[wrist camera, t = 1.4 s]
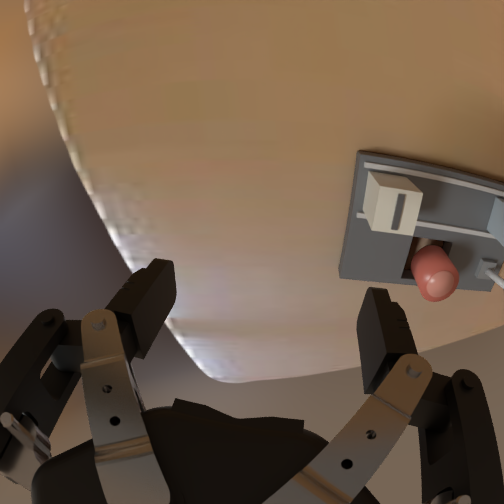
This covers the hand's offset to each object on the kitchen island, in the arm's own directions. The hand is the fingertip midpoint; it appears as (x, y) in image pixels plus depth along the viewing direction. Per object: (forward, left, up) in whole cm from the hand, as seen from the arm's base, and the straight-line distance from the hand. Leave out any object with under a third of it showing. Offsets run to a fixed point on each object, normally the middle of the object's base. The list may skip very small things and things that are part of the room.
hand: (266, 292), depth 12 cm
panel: (-17, +4, -21) cm, 28 cm away
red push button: (-16, +8, -18) cm, 26 cm away
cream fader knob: (-9, +1, -19) cm, 21 cm away
